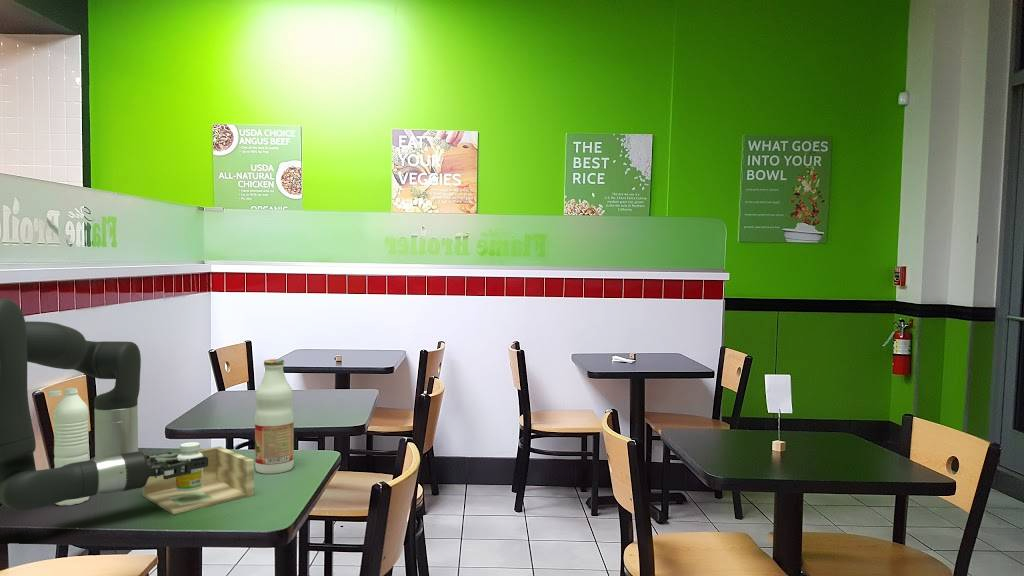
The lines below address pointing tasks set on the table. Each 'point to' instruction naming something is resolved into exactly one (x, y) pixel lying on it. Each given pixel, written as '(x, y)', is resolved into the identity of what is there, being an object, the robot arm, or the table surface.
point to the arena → (206, 483)
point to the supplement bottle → (196, 475)
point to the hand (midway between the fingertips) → (201, 458)
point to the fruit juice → (274, 421)
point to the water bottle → (70, 433)
